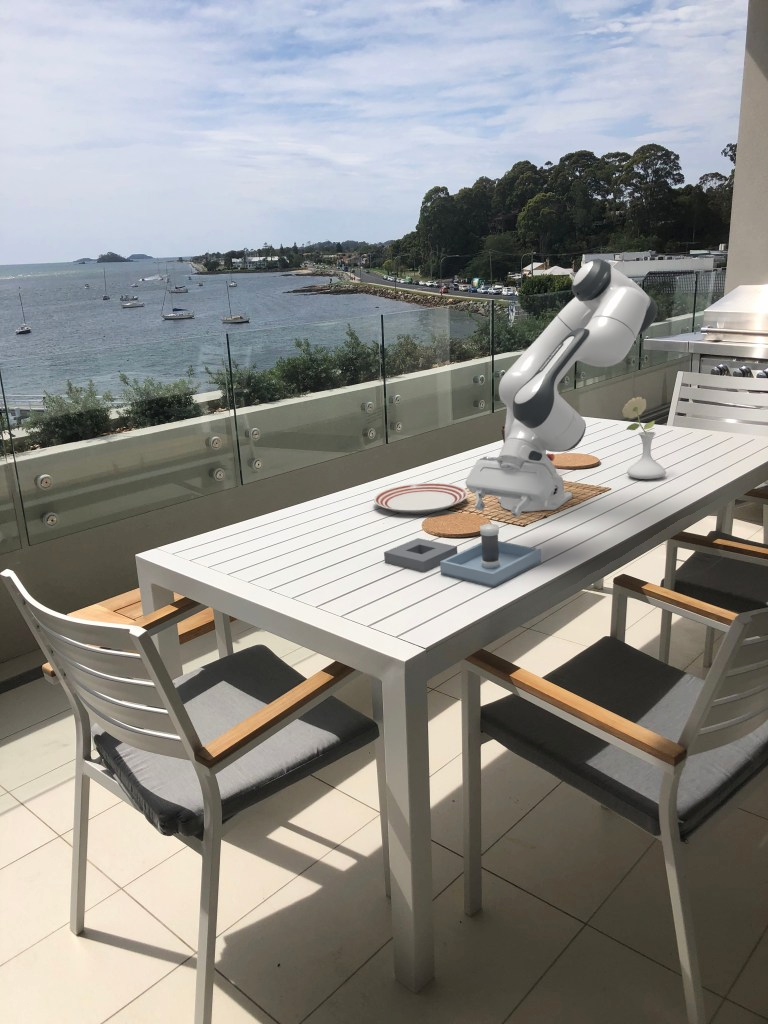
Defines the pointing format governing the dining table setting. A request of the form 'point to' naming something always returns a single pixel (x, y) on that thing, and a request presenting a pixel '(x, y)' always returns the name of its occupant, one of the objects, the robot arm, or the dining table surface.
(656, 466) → the flower in vase
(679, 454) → the dining table surface
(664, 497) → the dining table surface
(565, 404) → the robot arm
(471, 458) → the dining table surface
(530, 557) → the parts tray
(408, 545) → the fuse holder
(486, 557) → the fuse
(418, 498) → the dinner plate
